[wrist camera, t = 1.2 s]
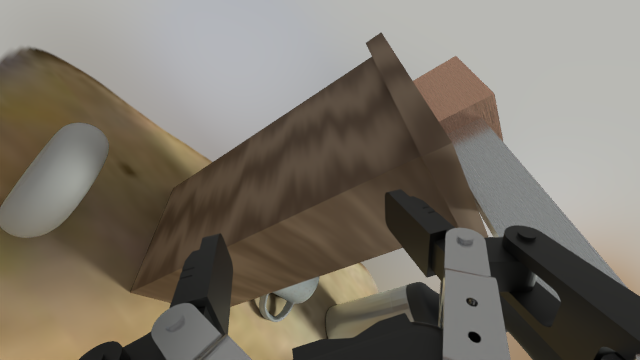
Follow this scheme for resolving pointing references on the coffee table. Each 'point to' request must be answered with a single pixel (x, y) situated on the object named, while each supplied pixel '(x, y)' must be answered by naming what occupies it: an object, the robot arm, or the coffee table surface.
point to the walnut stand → (314, 186)
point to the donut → (55, 181)
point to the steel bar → (496, 163)
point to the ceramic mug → (289, 298)
